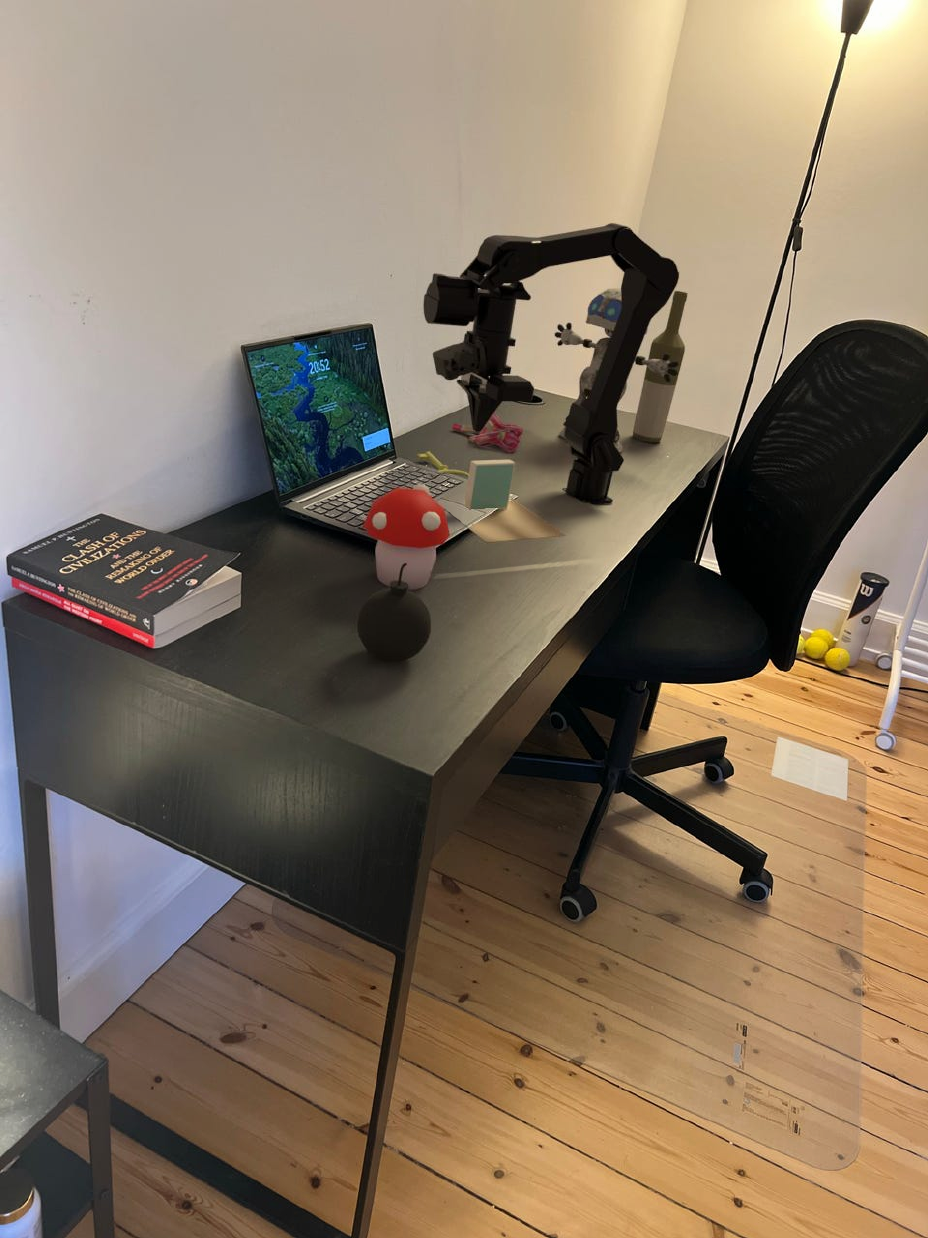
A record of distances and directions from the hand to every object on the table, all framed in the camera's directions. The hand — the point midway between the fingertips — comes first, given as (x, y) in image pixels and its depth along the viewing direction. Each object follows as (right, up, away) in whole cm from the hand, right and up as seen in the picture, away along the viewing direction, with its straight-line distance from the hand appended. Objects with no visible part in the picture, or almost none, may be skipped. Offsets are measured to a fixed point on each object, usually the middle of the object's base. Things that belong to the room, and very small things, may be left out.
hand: (476, 430), depth 147 cm
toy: (+2, +4, +34) cm, 35 cm away
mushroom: (-10, -24, -25) cm, 36 cm away
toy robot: (+24, +6, +45) cm, 51 cm away
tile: (+1, -12, 0) cm, 12 cm away
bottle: (+36, +9, +54) cm, 65 cm away
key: (-6, -5, +15) cm, 16 cm away
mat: (+3, -14, -2) cm, 15 cm away
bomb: (-10, -33, -44) cm, 56 cm away
